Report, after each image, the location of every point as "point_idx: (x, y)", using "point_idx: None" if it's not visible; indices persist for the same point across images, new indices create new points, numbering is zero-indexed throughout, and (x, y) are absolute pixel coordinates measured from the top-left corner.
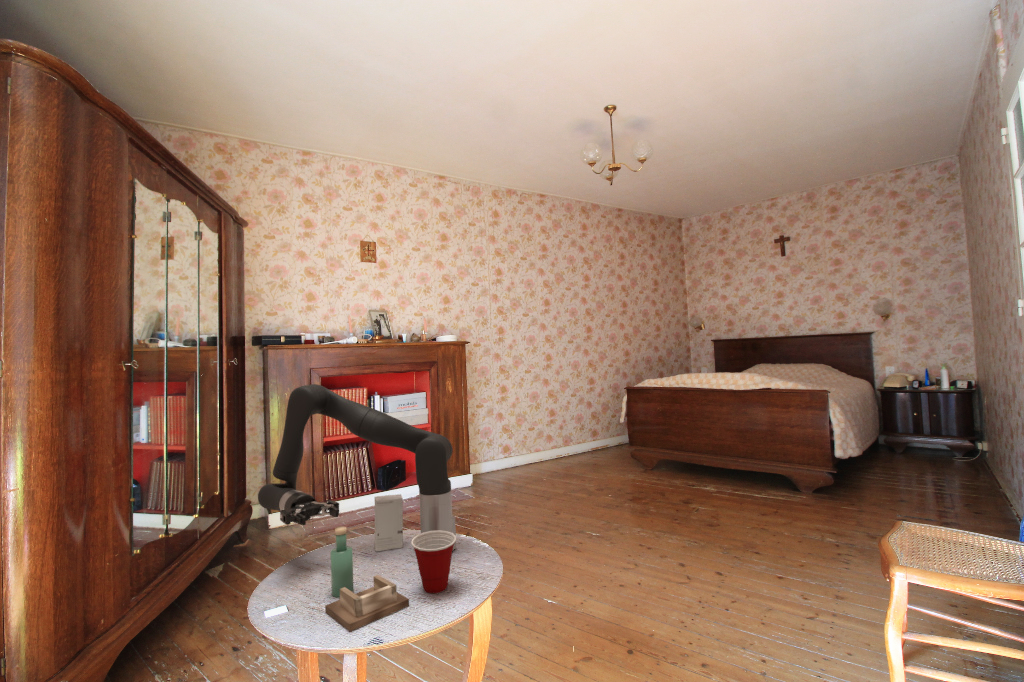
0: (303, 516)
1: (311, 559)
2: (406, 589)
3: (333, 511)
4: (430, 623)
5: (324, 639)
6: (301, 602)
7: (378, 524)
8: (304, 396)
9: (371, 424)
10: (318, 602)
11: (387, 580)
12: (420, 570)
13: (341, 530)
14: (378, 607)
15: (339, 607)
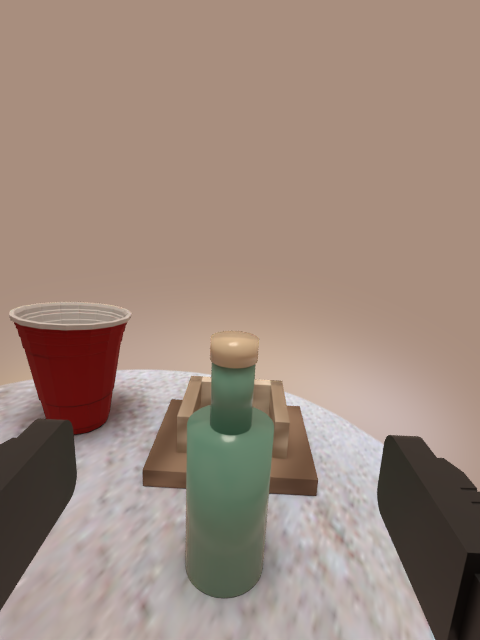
0: (408, 438)
1: None
2: (111, 451)
3: (46, 474)
4: (193, 375)
5: (343, 427)
6: (372, 608)
7: None
8: None
9: None
10: (317, 559)
11: (186, 392)
12: (112, 376)
13: (242, 334)
14: None
15: (291, 452)
